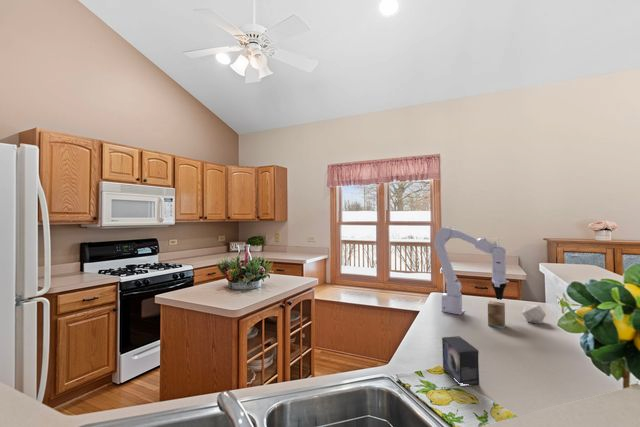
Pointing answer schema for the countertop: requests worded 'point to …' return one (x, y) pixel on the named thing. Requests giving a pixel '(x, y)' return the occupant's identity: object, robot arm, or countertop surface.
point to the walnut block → (496, 314)
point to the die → (533, 313)
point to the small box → (460, 360)
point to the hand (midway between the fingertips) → (499, 299)
